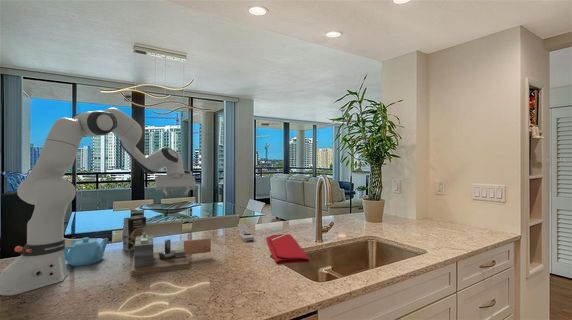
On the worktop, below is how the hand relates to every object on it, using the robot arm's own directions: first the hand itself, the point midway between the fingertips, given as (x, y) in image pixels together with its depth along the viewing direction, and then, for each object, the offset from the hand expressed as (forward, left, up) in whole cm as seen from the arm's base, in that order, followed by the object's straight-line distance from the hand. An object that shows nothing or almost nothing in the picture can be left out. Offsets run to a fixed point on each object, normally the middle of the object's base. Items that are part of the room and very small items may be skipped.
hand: (176, 195), depth 155 cm
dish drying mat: (+19, -53, -28) cm, 63 cm away
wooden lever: (-12, -15, -25) cm, 32 cm away
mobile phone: (+34, -22, -28) cm, 50 cm away
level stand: (-21, -9, -28) cm, 36 cm away
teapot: (-31, +24, -28) cm, 48 cm away
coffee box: (-8, +20, -28) cm, 35 cm away
